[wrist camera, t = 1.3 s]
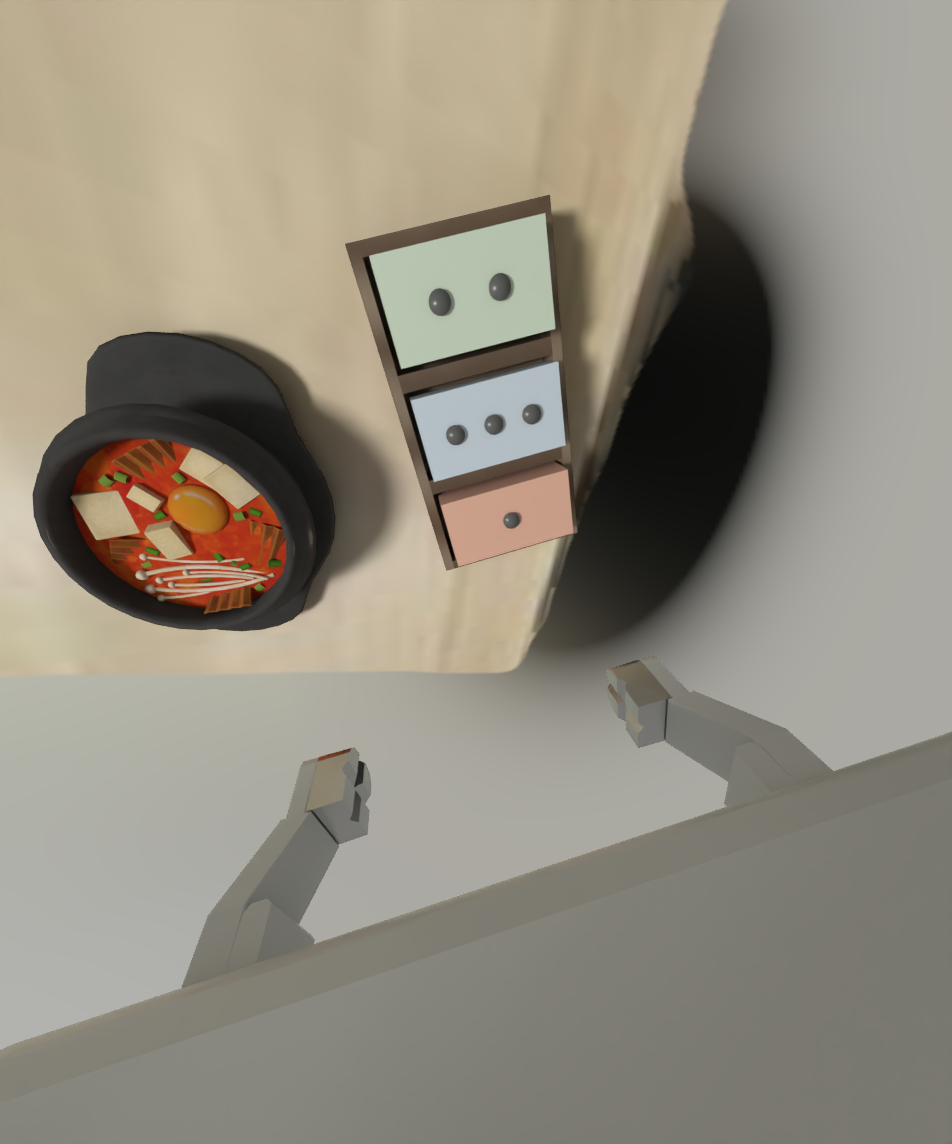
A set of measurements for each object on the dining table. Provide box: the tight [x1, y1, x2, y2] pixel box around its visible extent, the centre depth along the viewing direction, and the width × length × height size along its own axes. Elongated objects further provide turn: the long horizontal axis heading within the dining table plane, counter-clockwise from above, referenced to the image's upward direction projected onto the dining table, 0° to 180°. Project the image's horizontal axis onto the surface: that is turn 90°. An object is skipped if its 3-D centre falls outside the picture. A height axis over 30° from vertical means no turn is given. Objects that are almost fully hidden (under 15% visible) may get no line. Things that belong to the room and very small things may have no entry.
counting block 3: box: [437, 461, 573, 567], centre depth 33 cm, size 6×11×4 cm, turn 103°
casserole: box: [33, 332, 335, 631], centre depth 28 cm, size 25×19×8 cm
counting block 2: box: [409, 361, 566, 482], centre depth 29 cm, size 6×11×4 cm, turn 103°
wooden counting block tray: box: [345, 195, 577, 571], centre depth 31 cm, size 24×13×4 cm, turn 13°
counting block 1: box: [369, 213, 555, 369], centre depth 25 cm, size 6×11×4 cm, turn 103°
